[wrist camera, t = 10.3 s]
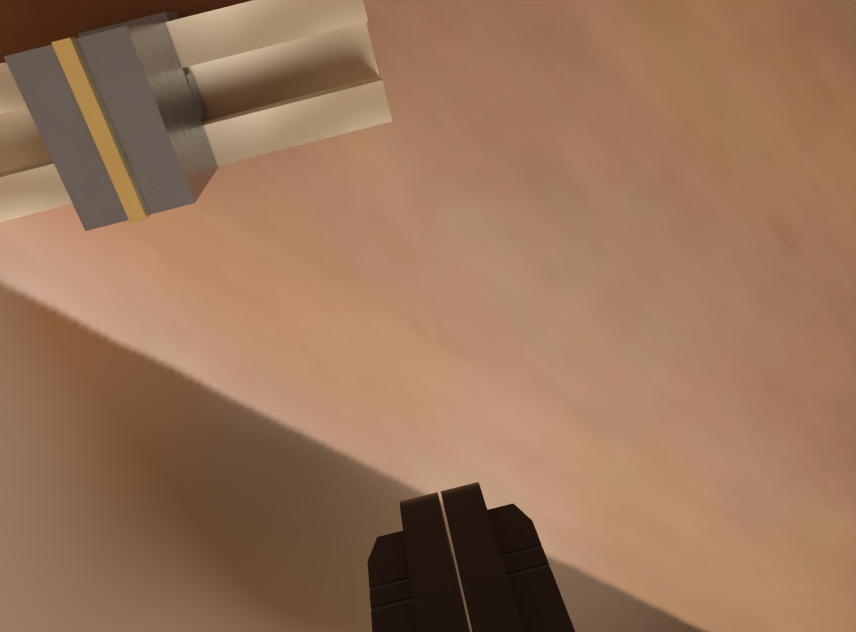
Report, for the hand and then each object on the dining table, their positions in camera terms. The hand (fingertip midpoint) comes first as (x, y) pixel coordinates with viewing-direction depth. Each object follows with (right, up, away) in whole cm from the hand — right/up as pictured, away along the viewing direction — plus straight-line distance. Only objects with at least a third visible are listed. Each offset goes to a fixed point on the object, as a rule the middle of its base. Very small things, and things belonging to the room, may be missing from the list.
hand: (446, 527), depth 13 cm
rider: (-12, +13, +17) cm, 25 cm away
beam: (-14, +15, +22) cm, 30 cm away
